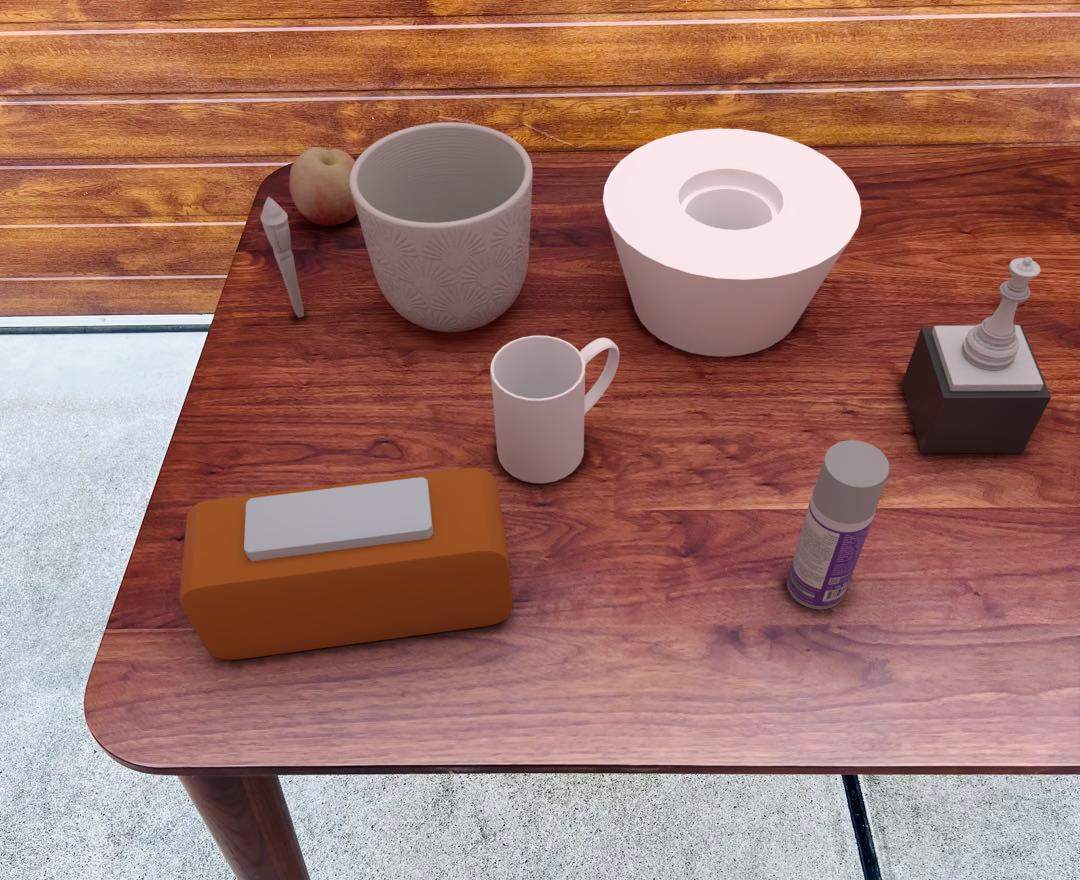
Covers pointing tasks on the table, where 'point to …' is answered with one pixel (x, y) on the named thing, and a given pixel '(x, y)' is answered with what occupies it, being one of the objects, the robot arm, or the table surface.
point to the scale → (971, 396)
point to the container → (837, 523)
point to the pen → (282, 249)
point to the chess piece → (1001, 321)
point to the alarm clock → (346, 563)
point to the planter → (446, 222)
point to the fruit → (323, 186)
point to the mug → (544, 404)
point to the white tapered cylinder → (727, 235)
